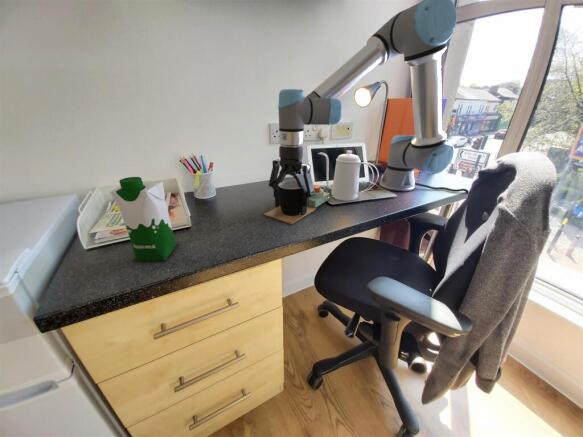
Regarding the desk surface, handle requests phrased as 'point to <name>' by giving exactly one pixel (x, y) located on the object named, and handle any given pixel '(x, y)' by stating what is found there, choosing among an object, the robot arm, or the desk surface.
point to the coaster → (280, 216)
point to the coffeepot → (346, 176)
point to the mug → (290, 197)
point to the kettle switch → (316, 188)
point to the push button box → (318, 198)
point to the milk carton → (145, 218)
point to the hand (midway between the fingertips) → (290, 210)
